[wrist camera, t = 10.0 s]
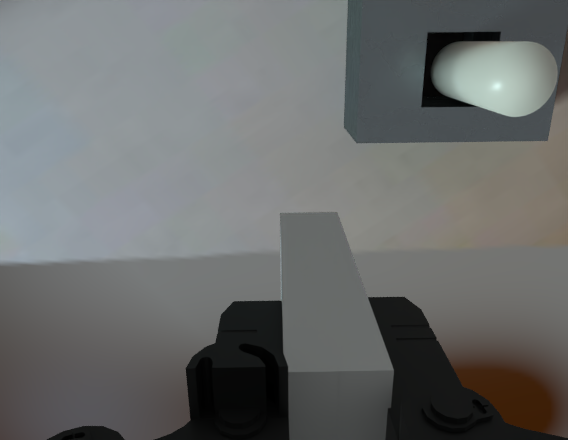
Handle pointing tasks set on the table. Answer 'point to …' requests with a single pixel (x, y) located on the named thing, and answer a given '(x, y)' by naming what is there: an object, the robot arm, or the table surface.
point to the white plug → (496, 75)
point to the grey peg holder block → (411, 62)
